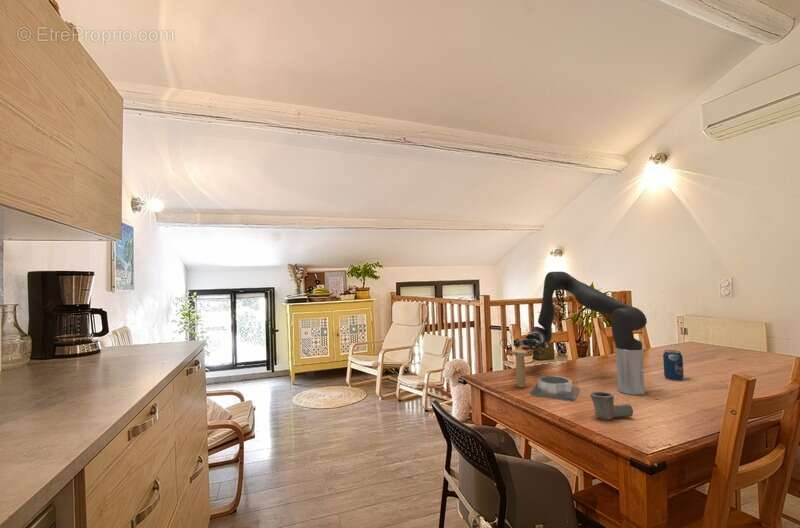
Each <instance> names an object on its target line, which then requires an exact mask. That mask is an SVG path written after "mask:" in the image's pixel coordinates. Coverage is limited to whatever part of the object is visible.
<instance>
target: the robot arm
mask: <svg viewBox="0 0 800 528" xmlns="http://www.w3.org/2000/svg"><path fill="white" fill-rule="evenodd" d="M543 281H544V283H543V291H542V303H541V308H540V312H539V315H538V318H537V323H538V324H539V326H533V327H532V329H531V330H530V331H531V332H530V333H528V334H527V335H526V336H525V337H524V338H523V339H521V338H515V339H514V340H513V346H514V347H516V348H517V349H518V348H520V347H521V348H522V347H523V348H525V347H526V348H528V350H529V349H530V350H538V349H541V348H542V349H545V348H546V347H547V344H549V343H551V341H552V339H553V334H552V333H553V332H552V327H553V322H554V318H555V314H556V309H555V308H556V307H555V305H554V301H553V299H554V298H553V297H554V293H555V291H560V290H561V291H566V292H569V293H571V294H572V295H573V296H574V298H575V300H576V301H577V303H578V304H580V305H581V306H583V307H585V308H587V309H588V310H591V311H593V312H596V313H599V314H600V313H601V314H604V315H608V316H610V321H611V322H610V324H611V333H612V339H613V342H614V345H615V347H614V348H615V364H616V381H617V384H616V385H617V391H618V392H620V393H623V394H627V395H635V396H637V395H646V393H645V392H646V391H645V372H644V357H643V353H644V352H643V342H642V341H641V340H639V339H636V338H635V336H634V332H635V331H639V330H641V329H644V328H645V327H646V325H647V323H648V320H647V317H646V315H645V313H644V312H643V311H642V310H641V309H639V308H637V307H635V306H632V305H630V304H627V303H624V302H622V301H619V300H617V299H615V298H613V296H610V295H607V294H606V293H604V292H602V291H600V290H599V289H597V288H594V287H592V286H590V285H588V284H586V283H584V282H582V281H580V280H578V279H576V278H575V277H573V276H572V275H571V274H569V273H567V272H566V271H550V272H547V273H546V275H545V277H544V280H543Z"/></svg>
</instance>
